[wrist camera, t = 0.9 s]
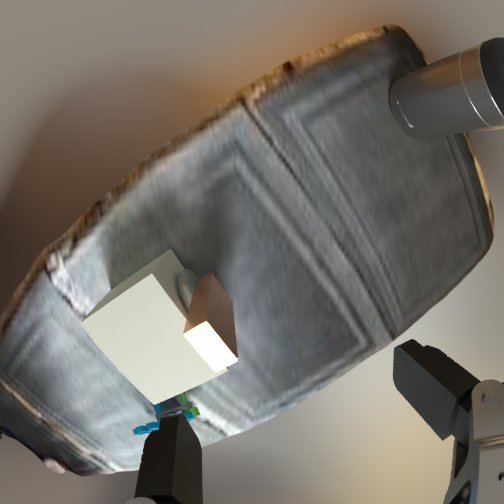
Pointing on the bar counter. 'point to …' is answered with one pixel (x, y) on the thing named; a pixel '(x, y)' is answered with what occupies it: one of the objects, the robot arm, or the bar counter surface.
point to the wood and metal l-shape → (208, 318)
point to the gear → (189, 414)
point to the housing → (149, 332)
